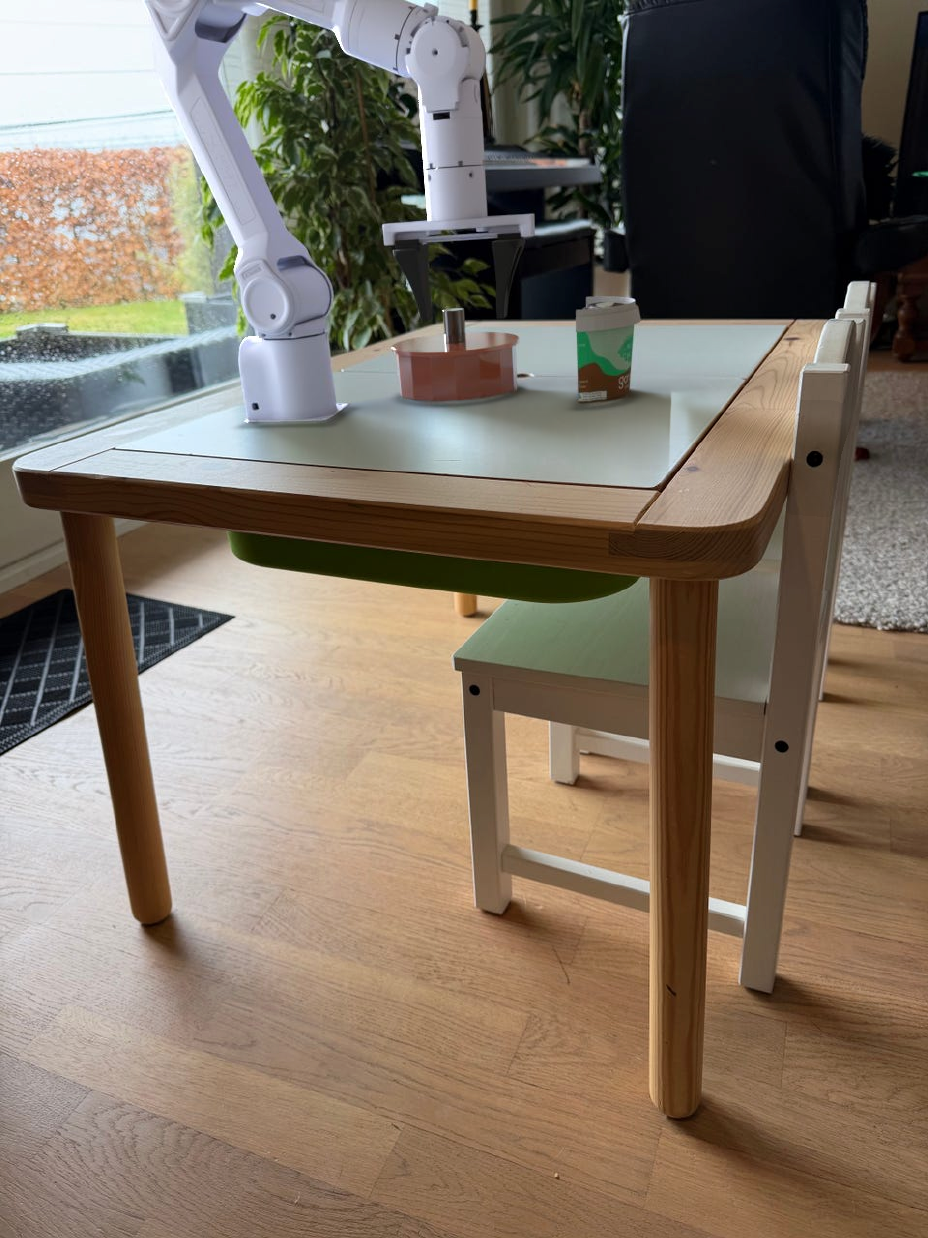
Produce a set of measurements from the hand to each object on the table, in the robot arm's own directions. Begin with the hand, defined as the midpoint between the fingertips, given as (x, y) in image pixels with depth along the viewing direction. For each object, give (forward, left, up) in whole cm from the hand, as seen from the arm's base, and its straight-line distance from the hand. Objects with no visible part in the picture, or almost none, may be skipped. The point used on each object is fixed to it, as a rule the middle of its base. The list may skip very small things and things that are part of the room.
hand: (464, 318), depth 94 cm
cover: (-4, +13, -4) cm, 14 cm away
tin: (-4, +13, -10) cm, 17 cm away
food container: (+14, +8, -10) cm, 19 cm away
